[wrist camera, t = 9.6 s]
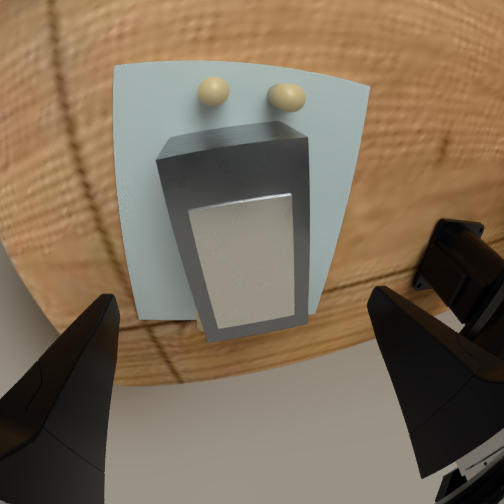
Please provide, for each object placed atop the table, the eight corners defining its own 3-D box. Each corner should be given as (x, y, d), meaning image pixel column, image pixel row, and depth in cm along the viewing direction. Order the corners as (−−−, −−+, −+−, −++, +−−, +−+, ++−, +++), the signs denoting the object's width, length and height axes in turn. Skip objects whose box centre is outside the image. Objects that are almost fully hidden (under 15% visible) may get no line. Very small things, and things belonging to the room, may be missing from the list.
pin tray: (362, 85, 12) (390, 89, 10) (311, 306, 20) (322, 333, 18) (119, 66, 10) (100, 63, 8) (140, 310, 18) (135, 340, 16)
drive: (279, 120, 12) (309, 137, 9) (288, 275, 17) (307, 325, 14) (169, 137, 12) (154, 160, 8) (205, 289, 17) (207, 343, 13)
